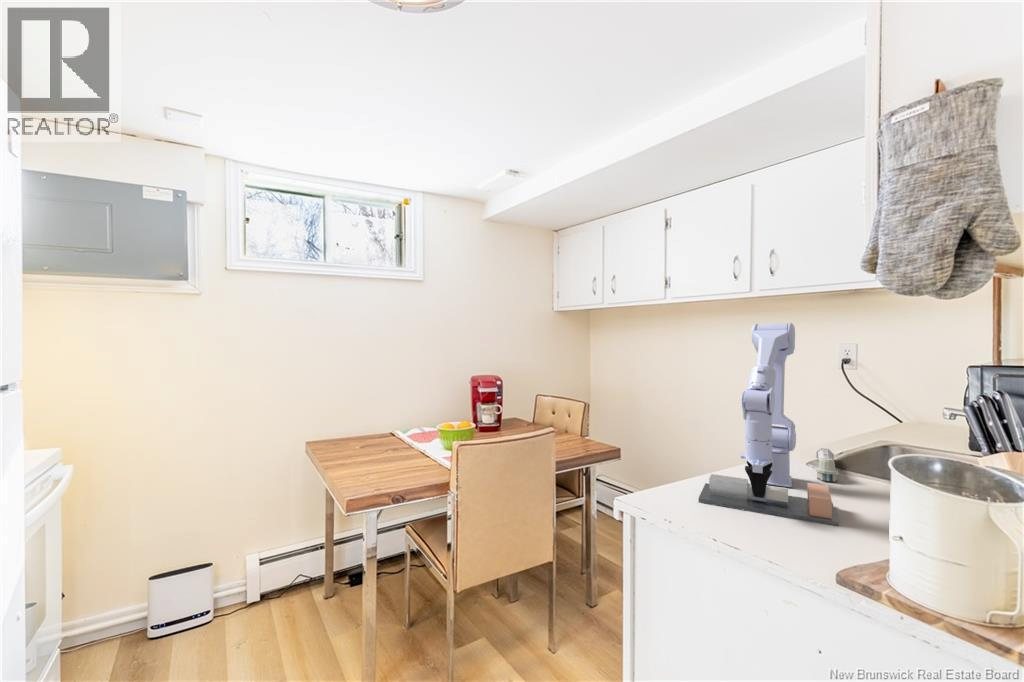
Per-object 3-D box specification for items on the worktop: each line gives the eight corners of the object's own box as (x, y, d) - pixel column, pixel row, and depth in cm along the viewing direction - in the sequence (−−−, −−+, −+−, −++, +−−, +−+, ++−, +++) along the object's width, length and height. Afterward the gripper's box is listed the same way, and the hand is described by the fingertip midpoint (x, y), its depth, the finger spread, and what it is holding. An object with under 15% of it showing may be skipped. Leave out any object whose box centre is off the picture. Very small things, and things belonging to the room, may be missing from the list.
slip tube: (715, 488, 114) (715, 474, 114) (788, 499, 106) (787, 484, 106) (713, 493, 111) (713, 479, 111) (788, 505, 102) (788, 490, 102)
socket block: (807, 499, 106) (807, 482, 106) (827, 502, 104) (827, 485, 104) (809, 515, 98) (809, 496, 98) (831, 518, 96) (831, 499, 95)
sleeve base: (705, 486, 119) (705, 468, 119) (832, 506, 104) (832, 485, 104) (698, 502, 109) (698, 482, 109) (837, 526, 94) (837, 503, 94)
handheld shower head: (834, 448, 139) (838, 457, 119) (834, 469, 139) (839, 482, 118) (814, 446, 142) (815, 455, 122) (814, 467, 142) (815, 479, 121)
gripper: (742, 430, 115) (743, 481, 115) (737, 443, 103) (738, 500, 103) (773, 433, 111) (774, 486, 112) (772, 447, 99) (773, 506, 99)
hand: (759, 493), depth 107 cm, fingers closed on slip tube, 4 cm apart
